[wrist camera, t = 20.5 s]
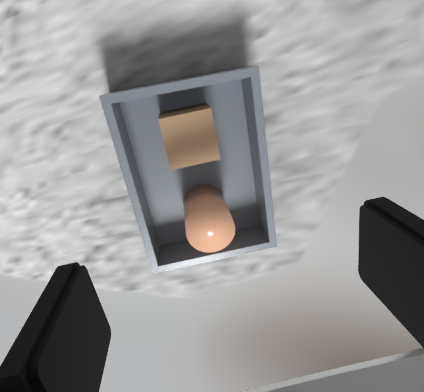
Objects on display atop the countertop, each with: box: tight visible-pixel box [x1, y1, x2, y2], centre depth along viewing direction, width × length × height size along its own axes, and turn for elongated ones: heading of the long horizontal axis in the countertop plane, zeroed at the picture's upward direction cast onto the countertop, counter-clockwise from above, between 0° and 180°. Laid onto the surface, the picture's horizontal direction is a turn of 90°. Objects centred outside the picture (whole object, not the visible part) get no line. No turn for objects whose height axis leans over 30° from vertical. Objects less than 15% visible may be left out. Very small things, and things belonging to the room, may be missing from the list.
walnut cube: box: [158, 103, 221, 170], centre depth 32 cm, size 5×5×5 cm
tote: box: [99, 66, 277, 274], centre depth 34 cm, size 20×15×5 cm
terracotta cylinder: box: [183, 184, 235, 253], centre depth 34 cm, size 5×5×7 cm
